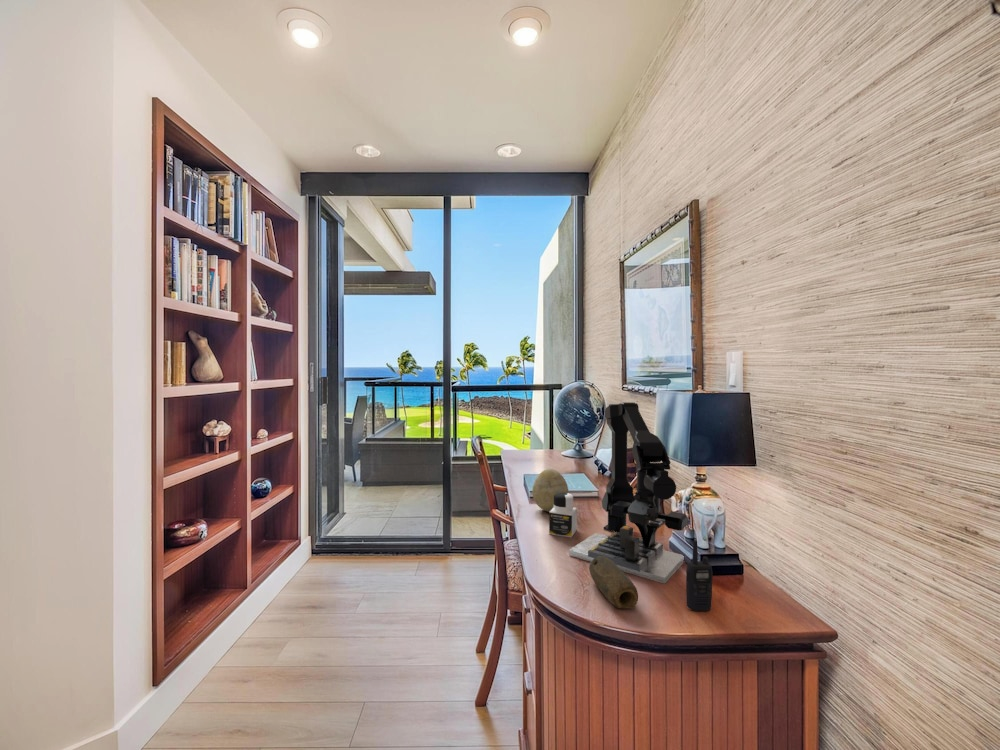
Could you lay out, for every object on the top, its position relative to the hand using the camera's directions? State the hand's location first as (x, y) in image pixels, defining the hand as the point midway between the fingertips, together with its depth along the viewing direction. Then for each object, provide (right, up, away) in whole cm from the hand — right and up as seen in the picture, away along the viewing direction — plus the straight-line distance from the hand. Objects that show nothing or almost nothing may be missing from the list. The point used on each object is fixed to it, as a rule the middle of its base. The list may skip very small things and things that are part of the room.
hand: (647, 547), depth 121 cm
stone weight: (-13, -5, -16) cm, 21 cm away
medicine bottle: (-19, -4, +23) cm, 30 cm away
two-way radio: (+4, -5, -21) cm, 22 cm away
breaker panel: (-5, -4, +4) cm, 7 cm away
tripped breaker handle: (-5, -1, +4) cm, 6 cm away
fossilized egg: (-21, -3, +43) cm, 48 cm away
